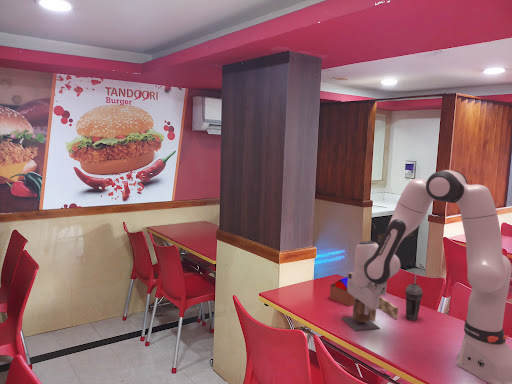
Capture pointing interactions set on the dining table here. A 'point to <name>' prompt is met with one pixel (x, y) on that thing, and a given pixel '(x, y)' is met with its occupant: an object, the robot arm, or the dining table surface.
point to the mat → (360, 324)
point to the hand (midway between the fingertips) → (361, 311)
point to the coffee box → (381, 288)
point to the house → (341, 292)
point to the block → (360, 312)
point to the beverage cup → (413, 300)
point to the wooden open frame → (385, 309)
